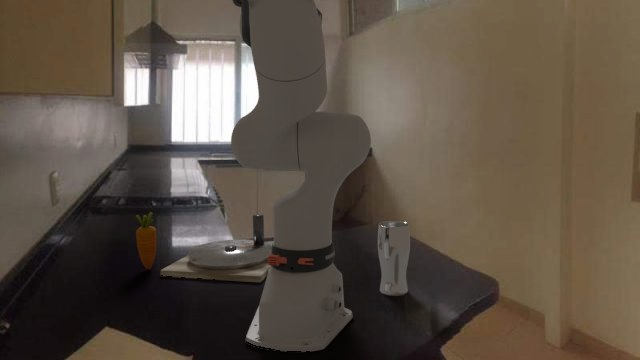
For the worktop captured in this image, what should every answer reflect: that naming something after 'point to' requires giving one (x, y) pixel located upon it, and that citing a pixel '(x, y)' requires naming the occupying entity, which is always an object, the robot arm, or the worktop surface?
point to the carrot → (146, 241)
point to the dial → (233, 251)
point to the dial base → (217, 272)
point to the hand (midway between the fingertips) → (301, 122)
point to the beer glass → (393, 256)
